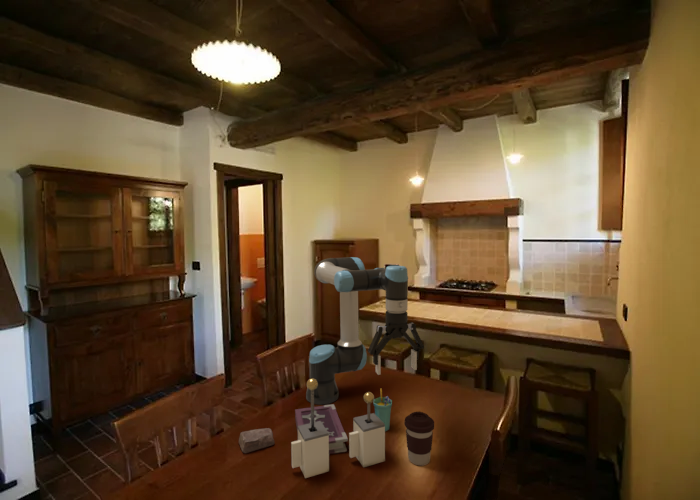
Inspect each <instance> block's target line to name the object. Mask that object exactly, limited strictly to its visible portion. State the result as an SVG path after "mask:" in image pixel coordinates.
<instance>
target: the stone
mask: <svg viewBox="0 0 700 500" xmlns="http://www.w3.org/2000/svg"><path fill="white" fill-rule="evenodd" d="M239 433H240V434H239V437H238V444H239V447H240V449H241V452H242V453H243V454H248V453H252V452H254V451H257V450H261V449H265V448H268V447H270V446H273V445H275V439H274V433H273V431H272V429H271V428H270V427H268V428H267V427H265V428H258V429H250V430H245V431H242V432H239Z"/></svg>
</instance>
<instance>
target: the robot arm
mask: <svg viewBox="0 0 700 500" xmlns="http://www.w3.org/2000/svg"><path fill="white" fill-rule="evenodd" d="M313 271H314V272H313V273H314V274H313V275H314V276H315V278H316V280H317V281H318V282H321V283H322V284H331V285H333V286H334V288H335V290H336V291H337V292H339V313H340V314H339V315H340V316H339V319H340V321H339V322H340V339H339V340H338V341H337V347H335V346H334V345H332V344H321V345H317V346H315V347H313V348H312V349H311V350H310V351H309V359H308V362H309V379H311V378H314V379H316V380H317V382H318V386H317V388H316V389H315V390H314V405H321V406H323V405H330V404H332V403H334V402H336V401H337V400H338V399H339V395H340V393H339V388H338V386H337V382H336V378H335V377H336V376H335V375H336V374H342V373H343V374H344V373H350V372H356V371H360V370H361V371H362V370H363V369H364V367H365V366H366V364H367V357H368V356H367V355H368V354H367V352H368V353H369V354H370V355H371V356H372V362H373V363H372V364H374V365H375V373H376V374H377V375H378V376H379V375H382V374H381V372H382V371H381V366H382V365H381V354H380V353H381V352H382V351H383V350H384V348H385V346H386V345H387V344H388V342H389V341H391V340H392V339H397V338H398V339H401V338H404V339H405V340H406V341H407V343H408V344H409V345H410V346H411V347H412V349H410V367H411V368H412V369H413V370H414V371H417V368H418V364H417V362H418V361H417V360H419V359H420V358H419V357H420V356H419V355H420V352H421V350H423V349H424V348H425V346H424V343H423V341H422V339H421V338H420V335H419V333H418V330H417V325H416V324H415V323H414V322H411V321H410V322H409V323H408V300H409V299H408V296H409V295H408V294H409V293H408V292H409V291H408V289H409V285H408V284H409V275H408V274H409V273H408V268H407V266H404V265H388V266H386V268H385V267H376V268H374V269H373V268H372V269H366V268H365V264H364V262H363V261H362V260H361V258H359V257H354V256H350V257H345V256H344V257H329V258H328V257H327V258H325V259H322V260H320V261H319V262H318V263H316V265H315V267H314V270H313ZM376 290H378V291H379V290H381V291H382V290H384V291H385V310H386V311H385V325H384V326H381V325H379V324H378V325H377V326H376V332H375V334H374V336H373V338H372V340H371V342H370V345H369V347H368V349H366V347H365V345H364V344H363V343H362V341H361V340H360V339H359V336H360V335H359V332H360V331H359V292H362V291H363V292H364V291H376ZM408 330H410V331H411V334H412V336H413V338H414V340H413V339H412V338H411V337H410V335H409V334H408V333H407V331H408ZM384 332H385V333H384ZM383 333H384V334H383ZM382 336H383V337H382ZM305 399H306V401H307V402H309V403H310V404H311V390H309V389H308V388H307V389H306V393H305Z"/></svg>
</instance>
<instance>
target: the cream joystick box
mask: <svg viewBox="0 0 700 500" xmlns="http://www.w3.org/2000/svg"><path fill="white" fill-rule="evenodd" d="M290 446H291V447H290V448H291V449H290V451H291V457H290V458H291V468H292V469H294V468H298V467H299V468H300V470H301V472H302V474H303V476H304V479H307V478H310V477H315V476H317V475H321V474H325V473H327V472H330V454H329V433H328V431H327V430H326V428H325V427H324V425H323V424H322V422H321V421H317V422H314V432H311V423H309V424H305V425H300V426H298V432H297V440H294V441H291V442H290Z"/></svg>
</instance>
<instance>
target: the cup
mask: <svg viewBox="0 0 700 500" xmlns="http://www.w3.org/2000/svg"><path fill="white" fill-rule="evenodd" d="M379 389H380V390H379V391H380V392H379V393H380V396H379V397H377V398H374V400H373V402H372V403H373V404H372V405H373V406H374V414H375V415H376V416H377V417H378V418H379V419H380V420H381V421H382V422H383V423H384V424H385V432H387V431H389V430H390V424H391V423H390V421H391V412H392V411H391V410H392V406H393V400H392V399H390V398H389V397H390V396H388V395H387V396H383V389H382V388H379Z"/></svg>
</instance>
